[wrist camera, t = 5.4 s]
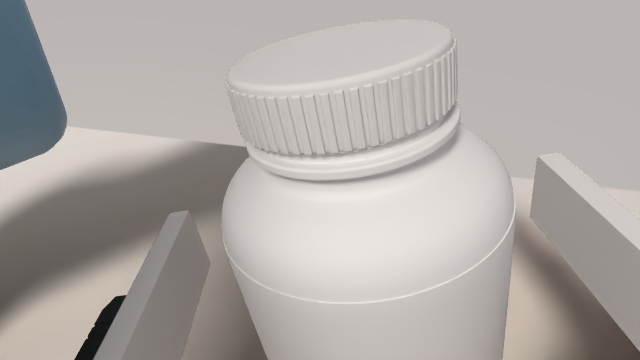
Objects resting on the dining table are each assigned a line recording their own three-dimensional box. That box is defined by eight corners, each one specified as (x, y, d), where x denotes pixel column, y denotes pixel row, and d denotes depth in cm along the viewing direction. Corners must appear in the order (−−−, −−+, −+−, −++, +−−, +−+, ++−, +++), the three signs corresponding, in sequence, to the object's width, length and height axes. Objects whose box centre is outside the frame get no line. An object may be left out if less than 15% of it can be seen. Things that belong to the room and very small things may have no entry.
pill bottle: (267, 390, 18) (138, 67, 11) (401, 303, 21) (373, 2, 14) (372, 593, 12) (242, 168, 5) (541, 430, 15) (632, 9, 8)
